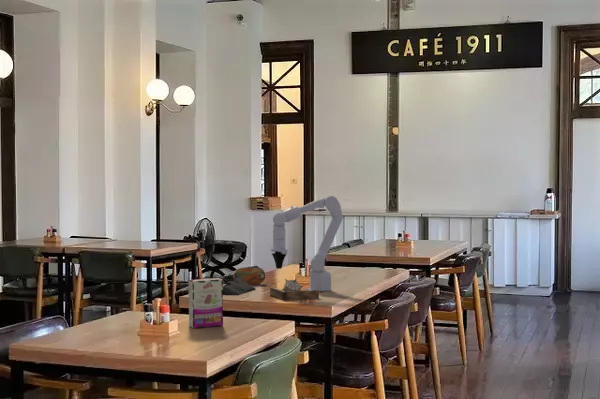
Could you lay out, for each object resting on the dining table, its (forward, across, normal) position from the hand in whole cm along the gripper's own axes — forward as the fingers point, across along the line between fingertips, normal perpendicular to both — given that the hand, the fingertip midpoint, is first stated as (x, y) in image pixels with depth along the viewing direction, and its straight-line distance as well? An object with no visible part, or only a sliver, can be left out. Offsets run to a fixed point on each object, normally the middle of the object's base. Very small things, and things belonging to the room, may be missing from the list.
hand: (278, 268), depth 358 cm
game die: (+10, +23, -4) cm, 25 cm away
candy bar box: (+10, +71, -58) cm, 92 cm away
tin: (+10, -22, -6) cm, 25 cm away
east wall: (+10, +22, -10) cm, 26 cm away
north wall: (+10, +28, -2) cm, 30 cm away
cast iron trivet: (+11, -4, -21) cm, 24 cm away
